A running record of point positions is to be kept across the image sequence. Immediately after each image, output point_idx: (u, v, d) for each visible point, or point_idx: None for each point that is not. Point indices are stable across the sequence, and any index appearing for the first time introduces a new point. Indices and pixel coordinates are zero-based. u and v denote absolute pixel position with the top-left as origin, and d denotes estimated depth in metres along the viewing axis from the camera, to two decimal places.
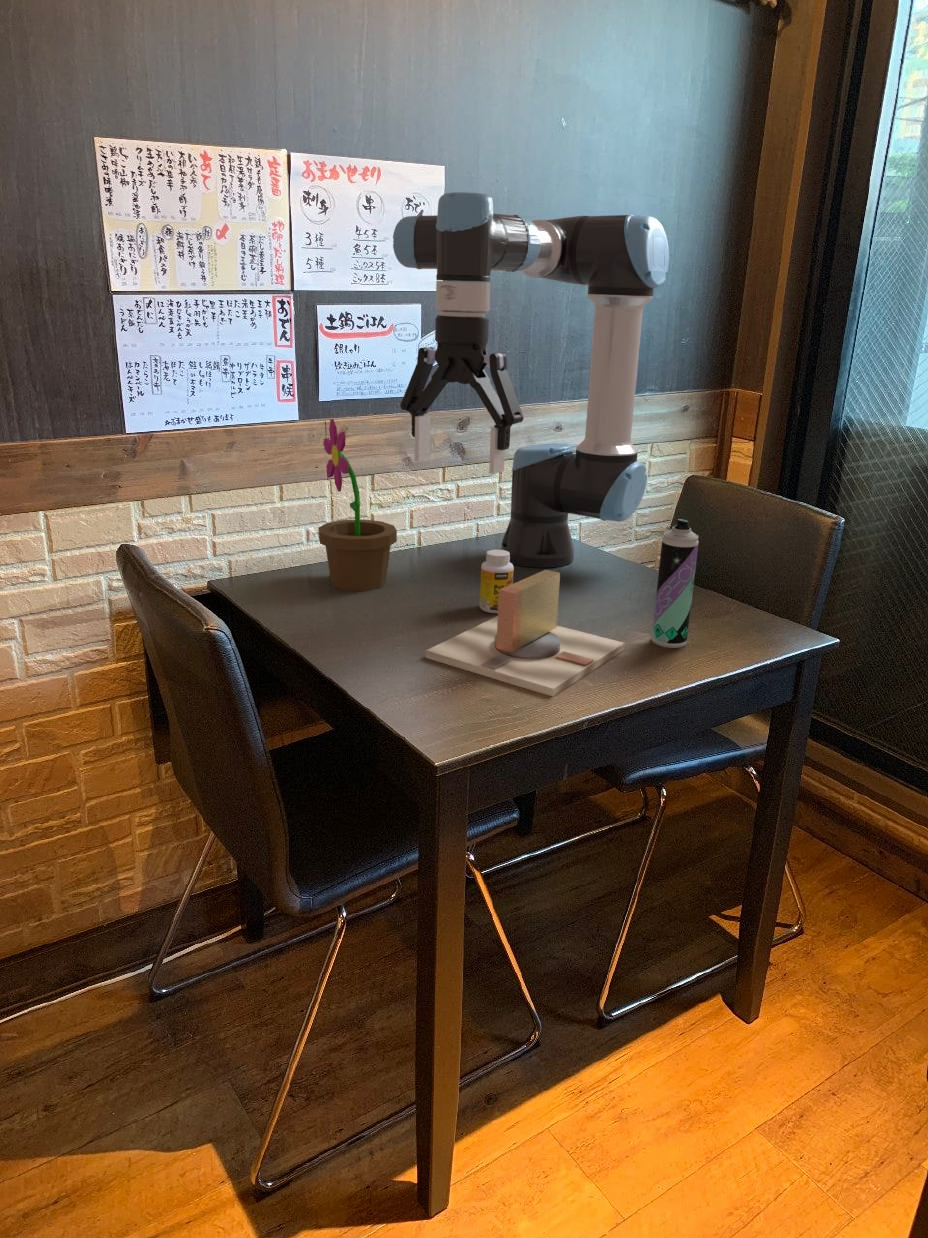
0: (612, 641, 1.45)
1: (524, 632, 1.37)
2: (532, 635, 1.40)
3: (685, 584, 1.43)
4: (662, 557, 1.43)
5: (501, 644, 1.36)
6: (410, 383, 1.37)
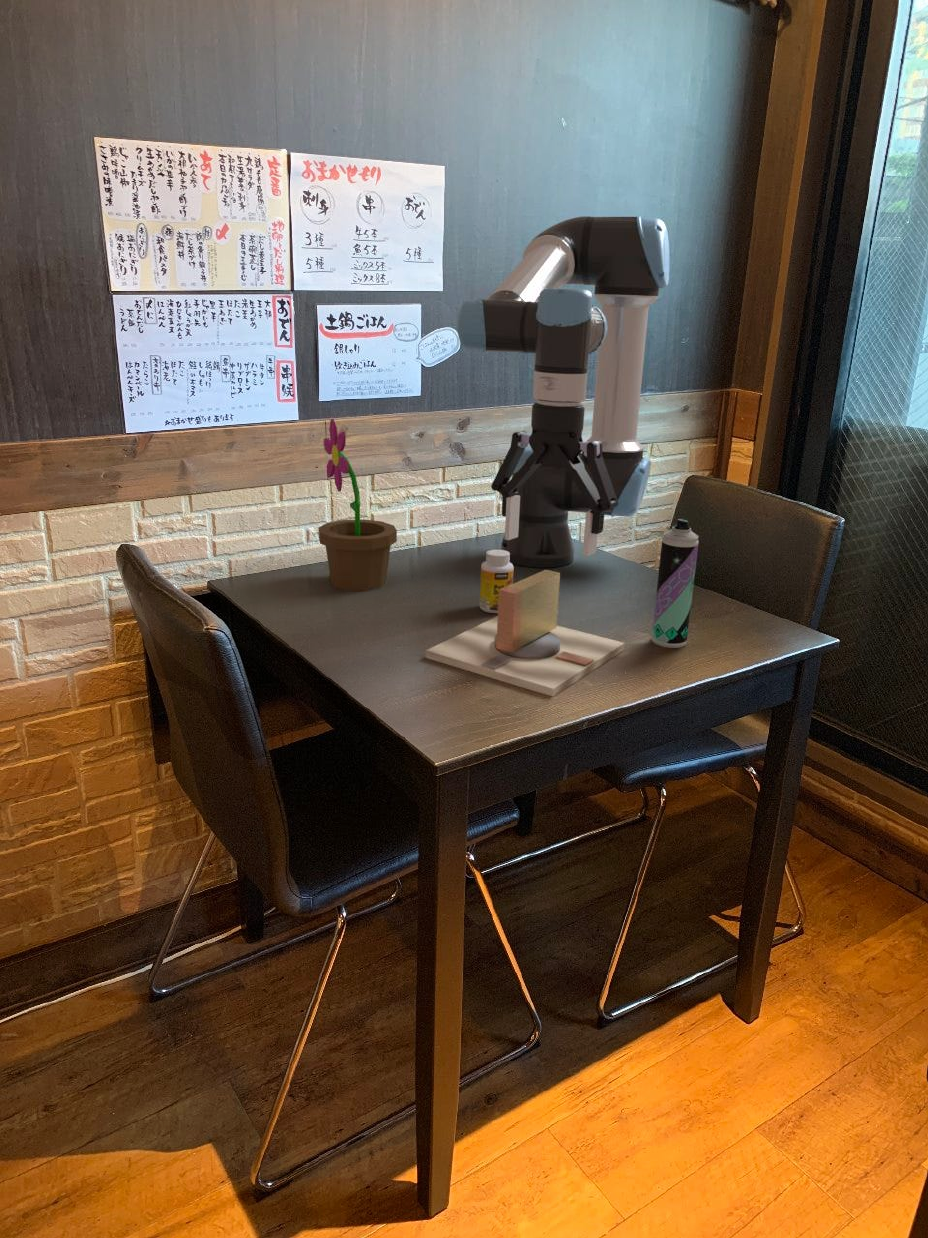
0: (612, 641, 1.45)
1: (524, 632, 1.37)
2: (532, 635, 1.40)
3: (685, 584, 1.43)
4: (662, 557, 1.43)
5: (501, 644, 1.36)
6: (502, 465, 1.40)
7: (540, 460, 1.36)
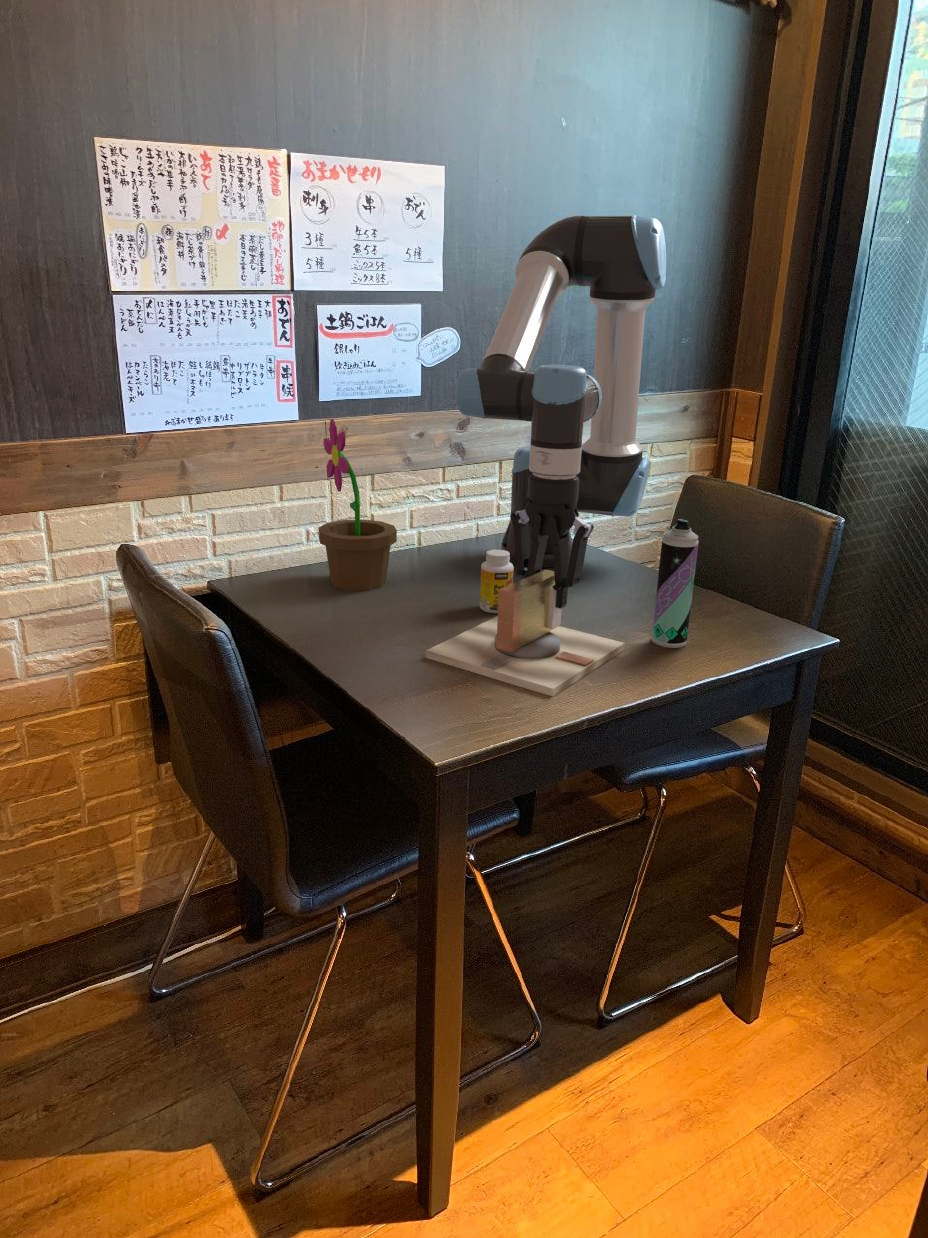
0: (612, 641, 1.45)
1: (524, 632, 1.37)
2: (532, 635, 1.40)
3: (685, 584, 1.43)
4: (662, 557, 1.43)
5: (501, 644, 1.36)
6: (516, 549, 1.43)
7: (543, 530, 1.39)
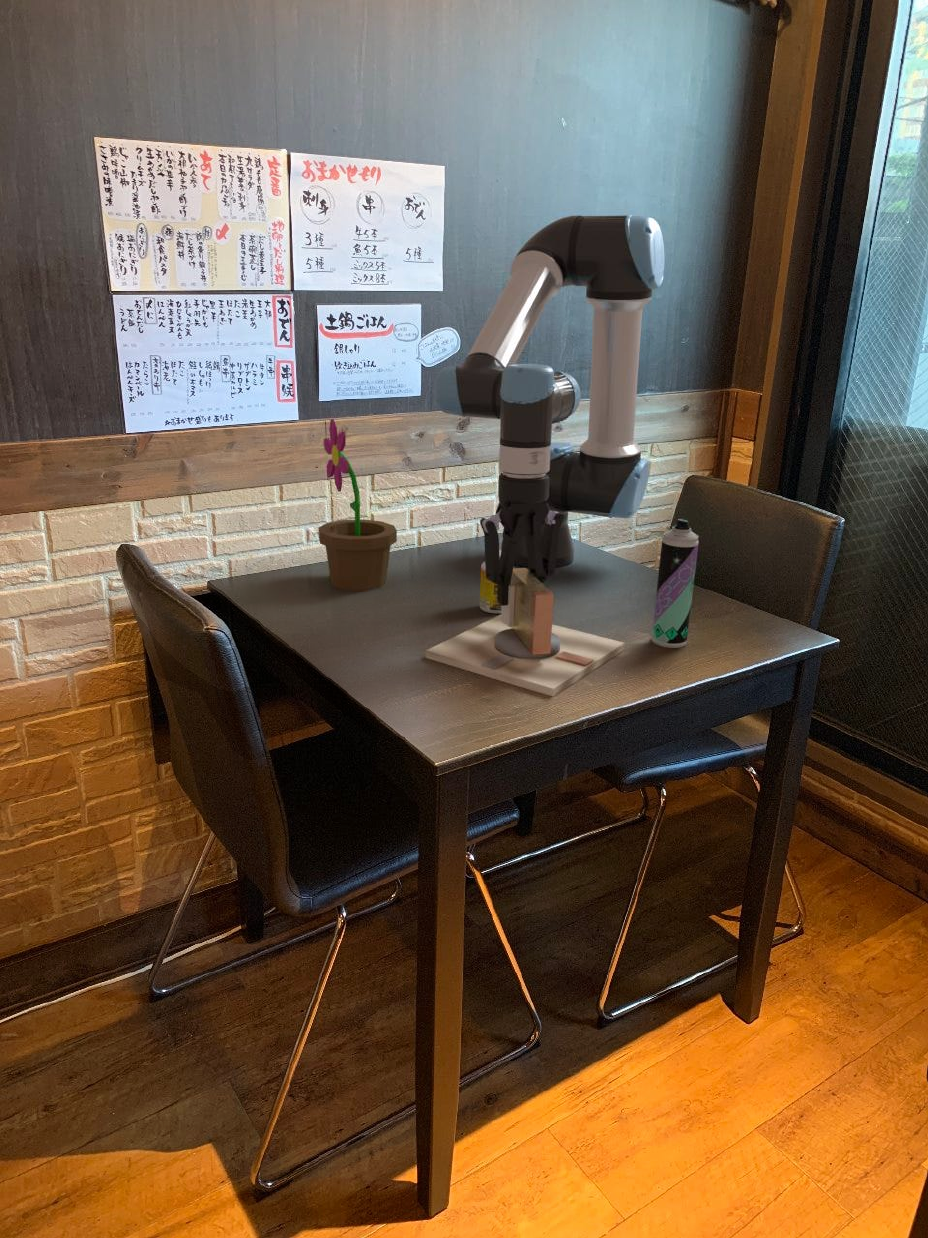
0: (612, 641, 1.45)
1: None
2: None
3: (685, 584, 1.43)
4: (662, 557, 1.43)
5: (538, 649, 1.35)
6: (493, 557, 1.38)
7: (521, 530, 1.39)
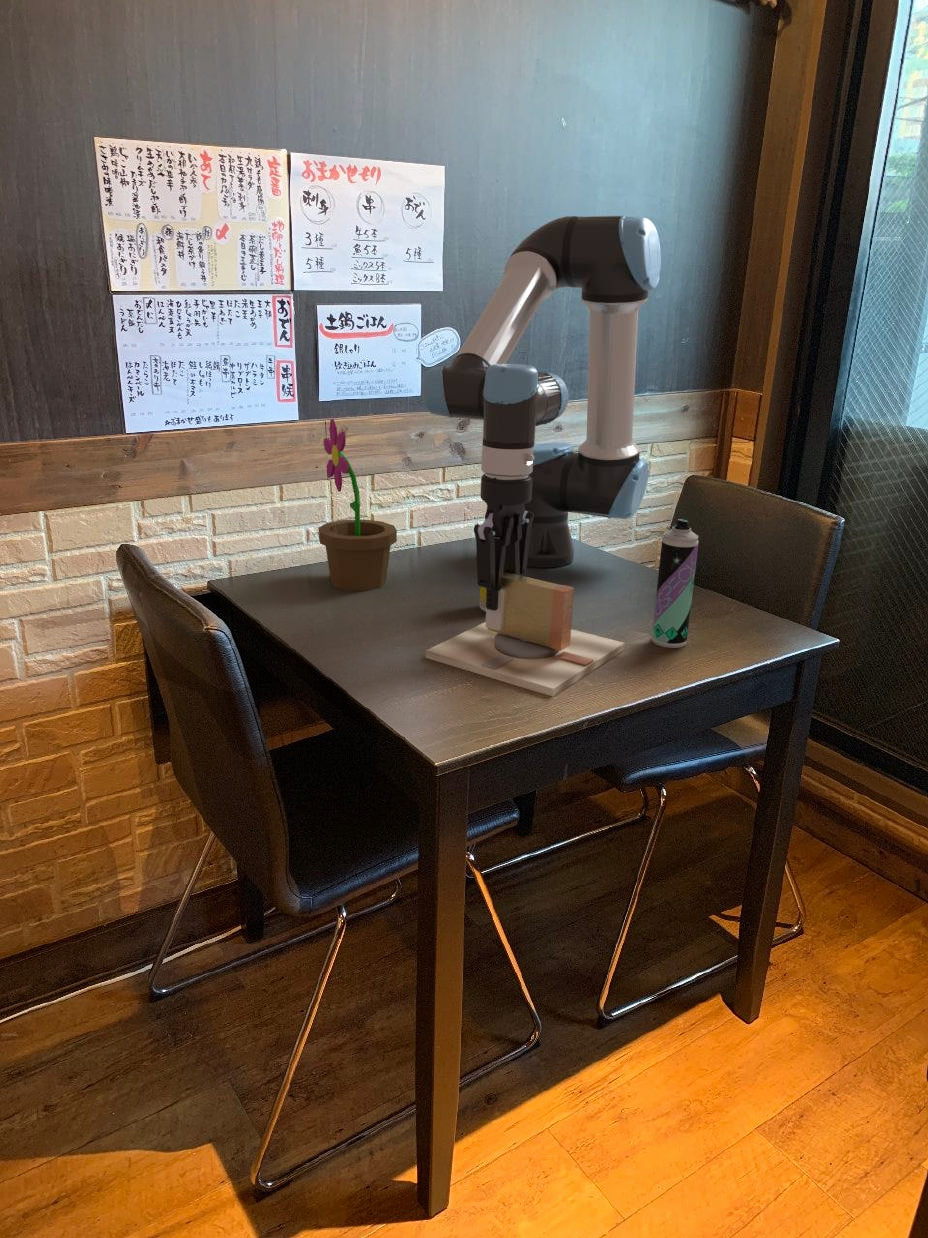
0: (612, 641, 1.45)
1: None
2: None
3: (685, 584, 1.43)
4: (662, 557, 1.43)
5: (564, 643, 1.37)
6: (491, 563, 1.35)
7: None
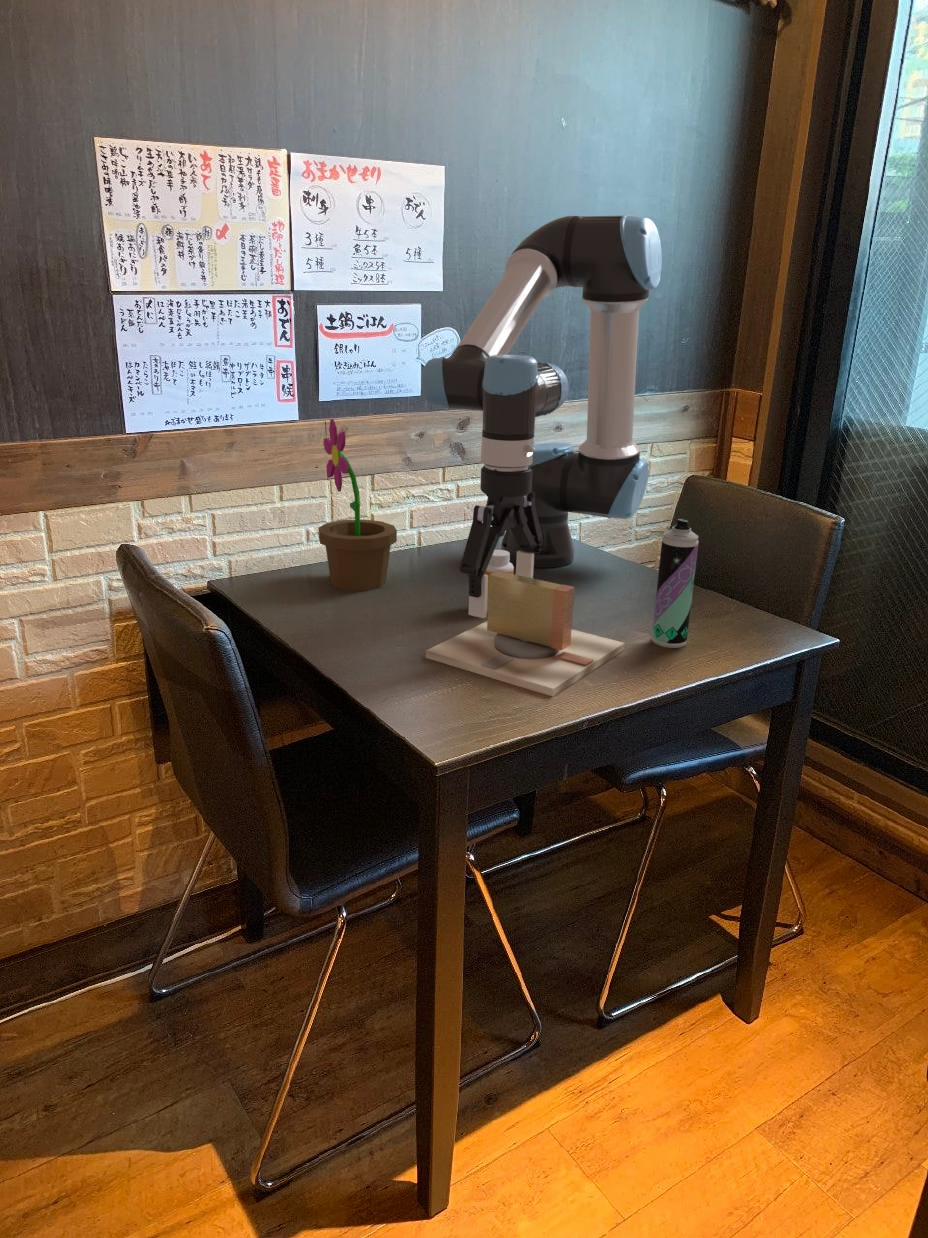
0: (612, 641, 1.45)
1: None
2: None
3: (685, 584, 1.43)
4: (662, 557, 1.43)
5: (565, 643, 1.37)
6: (481, 546, 1.32)
7: None
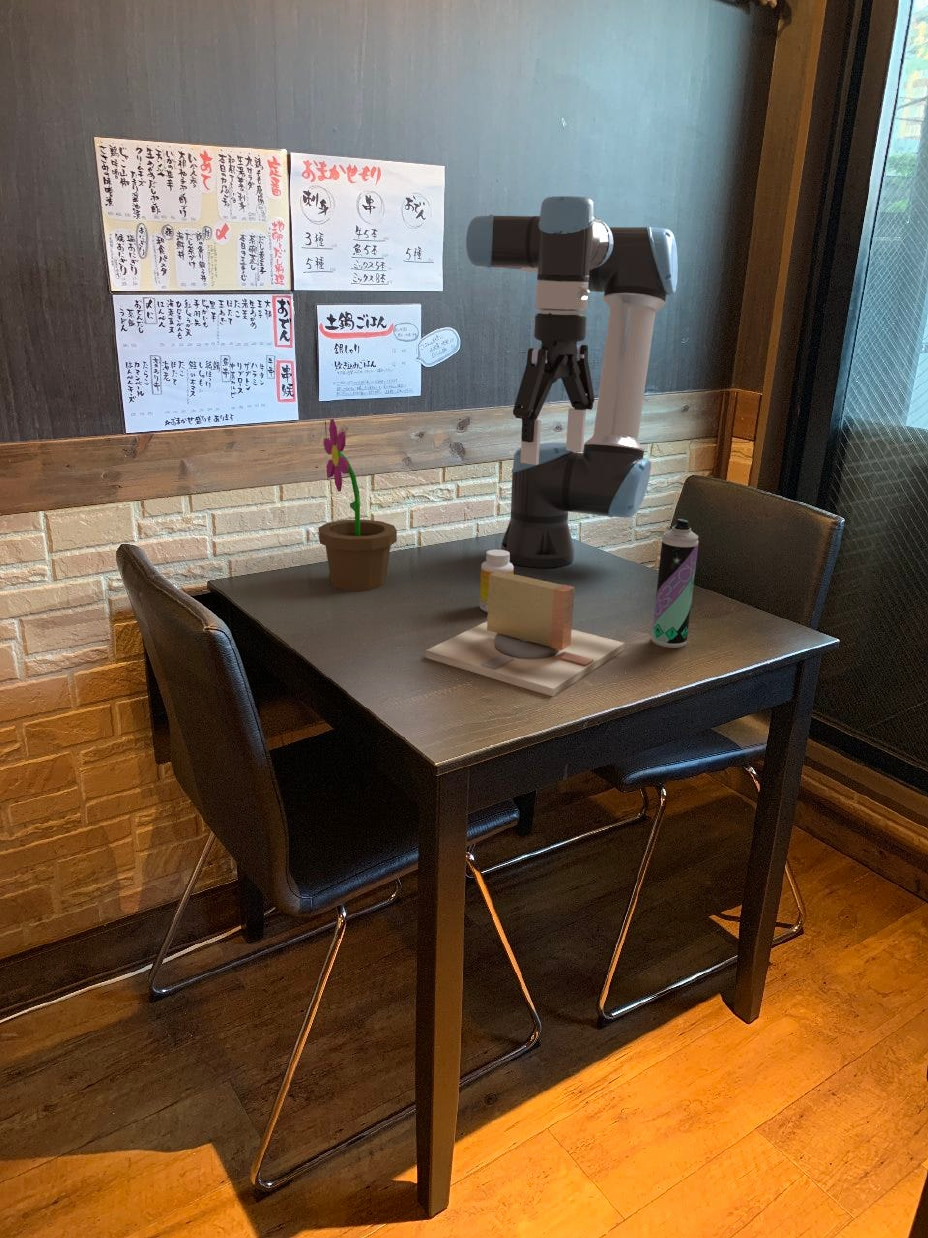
0: (612, 641, 1.45)
1: None
2: None
3: (685, 584, 1.43)
4: (662, 557, 1.43)
5: (565, 643, 1.37)
6: (535, 388, 1.33)
7: None
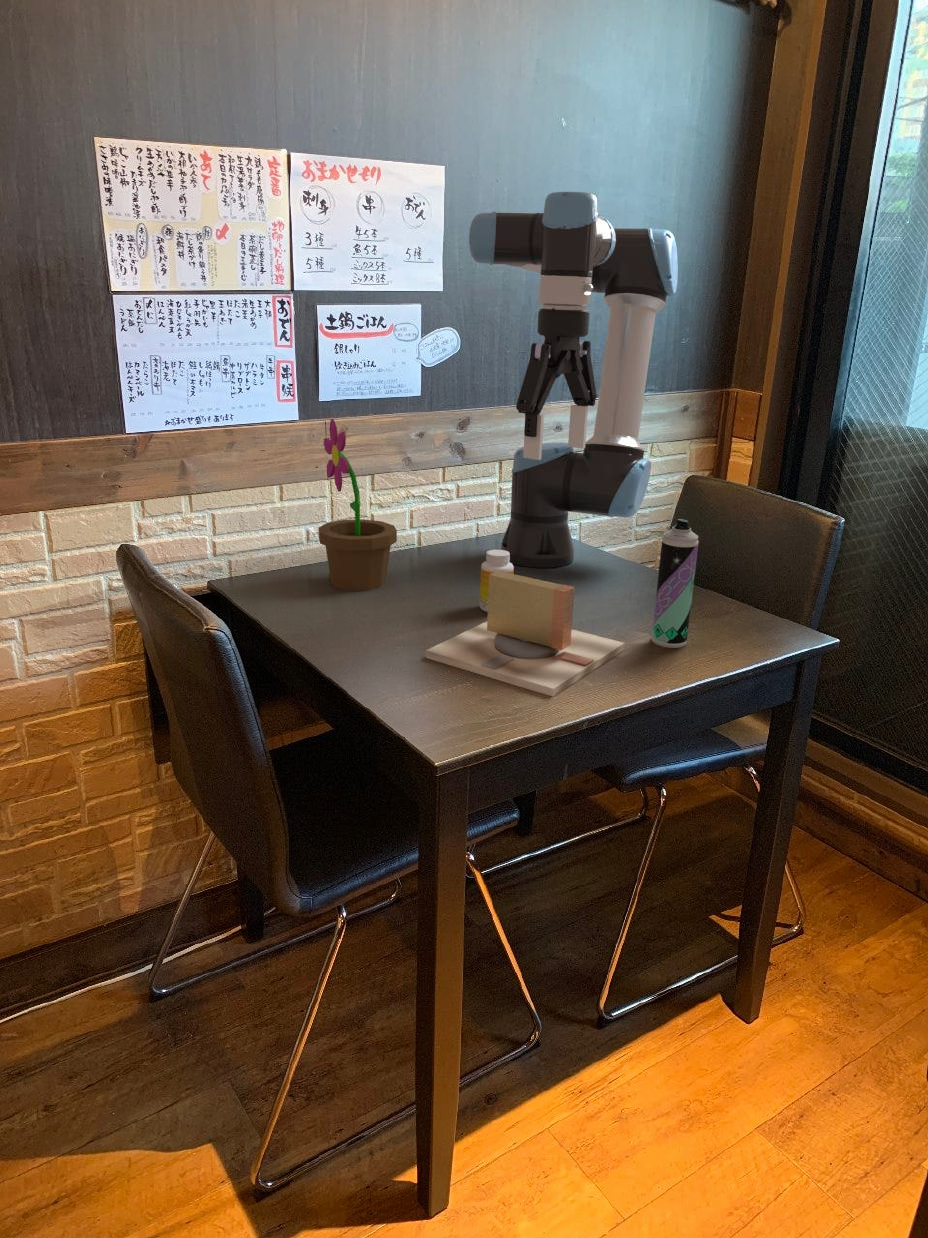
0: (612, 641, 1.45)
1: None
2: None
3: (685, 584, 1.43)
4: (662, 557, 1.43)
5: (565, 643, 1.37)
6: (538, 382, 1.33)
7: None
